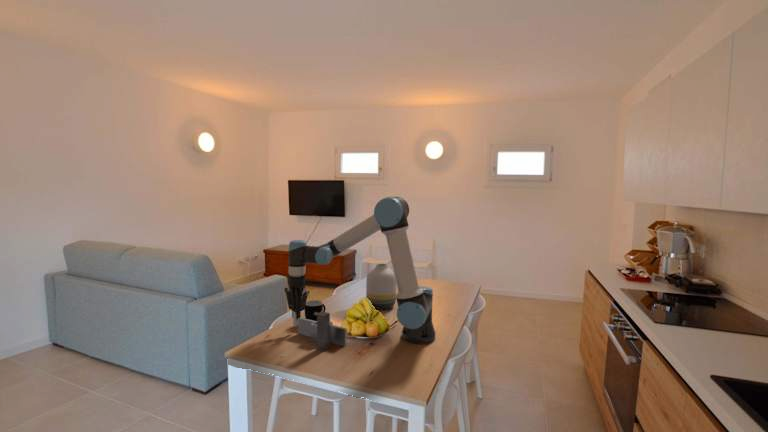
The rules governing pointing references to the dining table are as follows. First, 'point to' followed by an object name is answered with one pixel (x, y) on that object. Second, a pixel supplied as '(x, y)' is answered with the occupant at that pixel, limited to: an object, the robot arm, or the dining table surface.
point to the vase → (381, 287)
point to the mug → (313, 309)
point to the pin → (323, 331)
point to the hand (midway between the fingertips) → (296, 324)
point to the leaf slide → (307, 326)
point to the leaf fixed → (335, 335)
